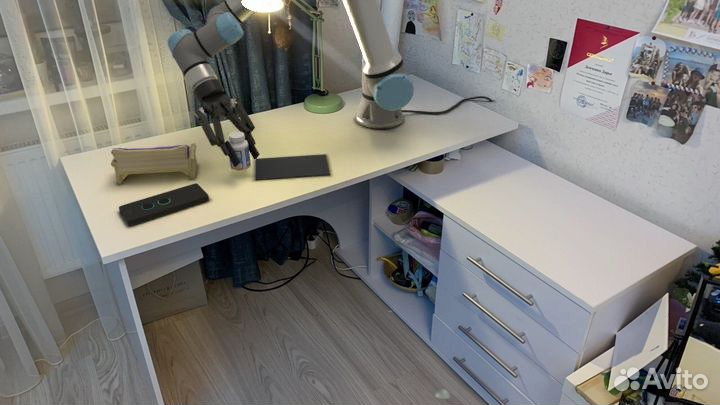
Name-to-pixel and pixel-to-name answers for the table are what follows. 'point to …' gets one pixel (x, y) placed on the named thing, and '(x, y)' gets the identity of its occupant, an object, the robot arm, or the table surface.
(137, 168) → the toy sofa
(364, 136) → the table surface
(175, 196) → the smart home device
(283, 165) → the mat
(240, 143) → the pill bottle
